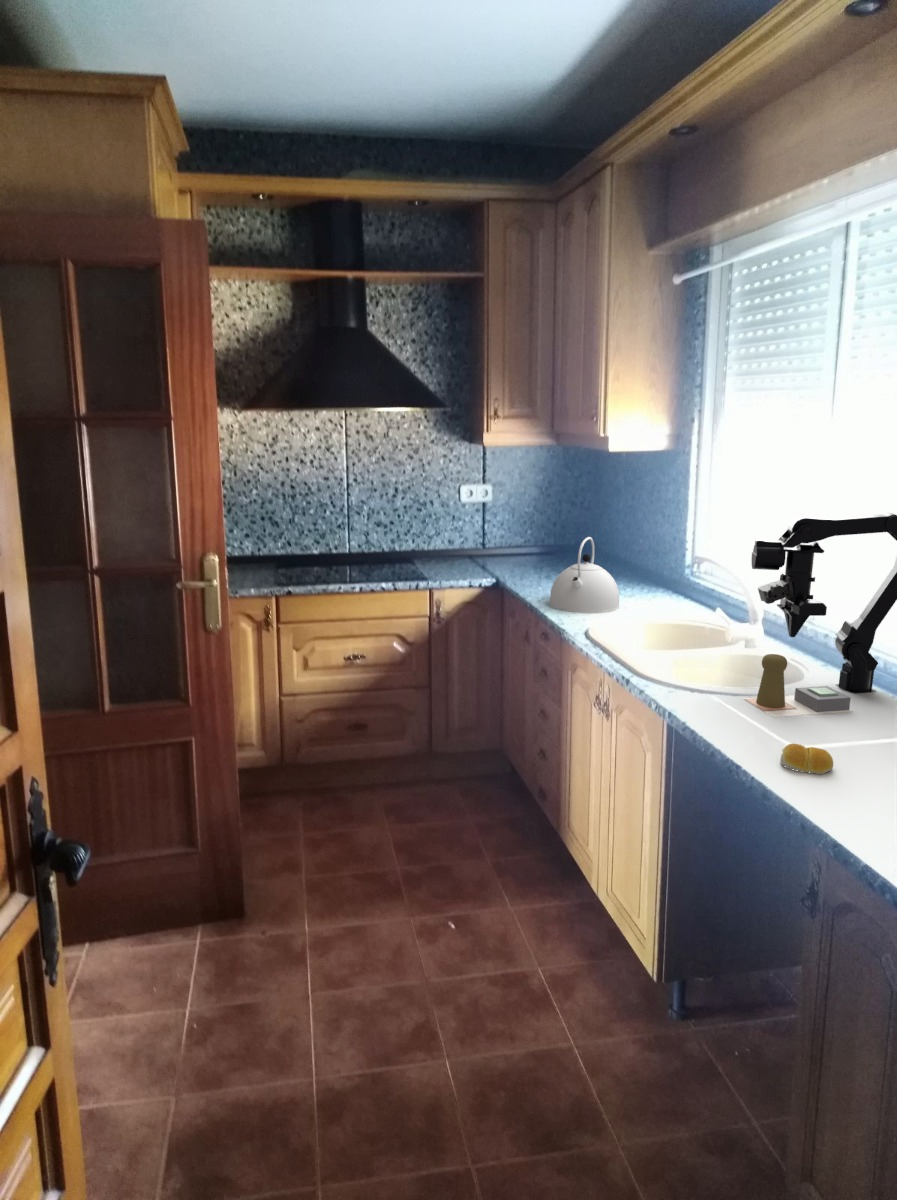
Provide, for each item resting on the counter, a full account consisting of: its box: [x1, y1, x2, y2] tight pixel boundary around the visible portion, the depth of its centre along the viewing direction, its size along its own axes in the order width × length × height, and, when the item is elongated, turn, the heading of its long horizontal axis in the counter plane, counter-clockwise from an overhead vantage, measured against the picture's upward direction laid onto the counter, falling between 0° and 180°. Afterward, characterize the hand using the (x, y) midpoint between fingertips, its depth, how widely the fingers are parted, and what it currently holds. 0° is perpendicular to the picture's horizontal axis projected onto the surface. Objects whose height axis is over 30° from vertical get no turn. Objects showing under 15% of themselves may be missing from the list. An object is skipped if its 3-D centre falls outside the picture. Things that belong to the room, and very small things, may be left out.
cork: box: [756, 653, 788, 708], centre depth 191 cm, size 6×6×11 cm
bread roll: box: [780, 743, 834, 775], centre depth 160 cm, size 8×9×4 cm
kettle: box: [549, 536, 620, 614], centre depth 285 cm, size 25×23×22 cm
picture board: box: [743, 685, 853, 718], centre depth 192 cm, size 19×12×3 cm, turn 103°
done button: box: [809, 687, 837, 697], centre depth 192 cm, size 4×4×2 cm
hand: (792, 636), depth 204 cm, fingers closed
